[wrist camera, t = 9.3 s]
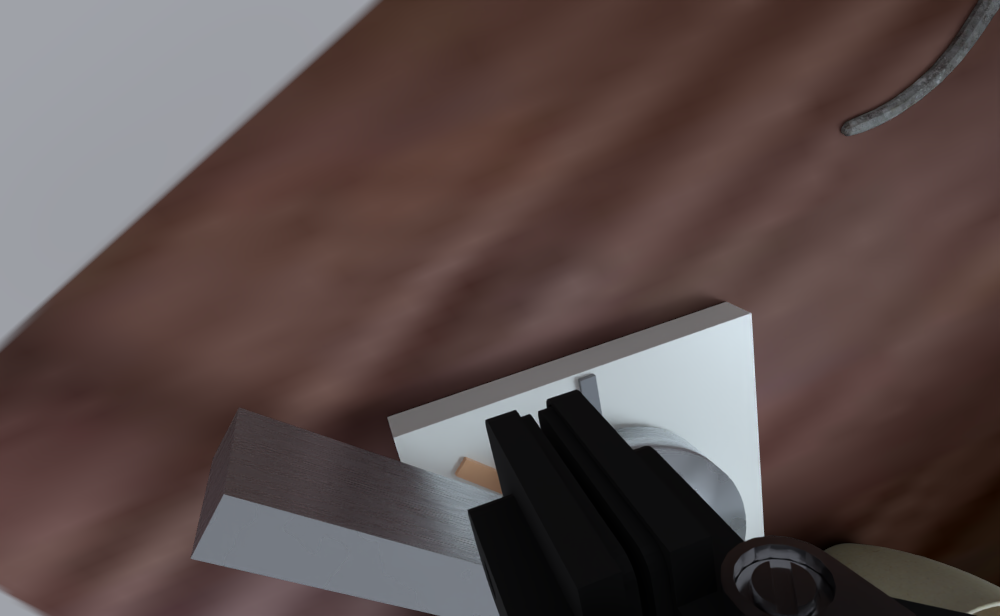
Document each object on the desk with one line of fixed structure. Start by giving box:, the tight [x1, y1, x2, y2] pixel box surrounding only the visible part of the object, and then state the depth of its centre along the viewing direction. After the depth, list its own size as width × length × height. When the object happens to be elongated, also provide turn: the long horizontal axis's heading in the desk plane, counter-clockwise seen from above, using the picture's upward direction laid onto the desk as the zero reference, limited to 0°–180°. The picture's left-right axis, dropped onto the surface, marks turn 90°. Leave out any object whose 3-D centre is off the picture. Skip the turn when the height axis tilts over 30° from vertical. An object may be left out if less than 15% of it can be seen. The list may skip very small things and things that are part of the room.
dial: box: [191, 408, 746, 616], centre depth 19 cm, size 20×9×6 cm, turn 59°
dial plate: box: [387, 302, 764, 541], centre depth 25 cm, size 14×14×2 cm
